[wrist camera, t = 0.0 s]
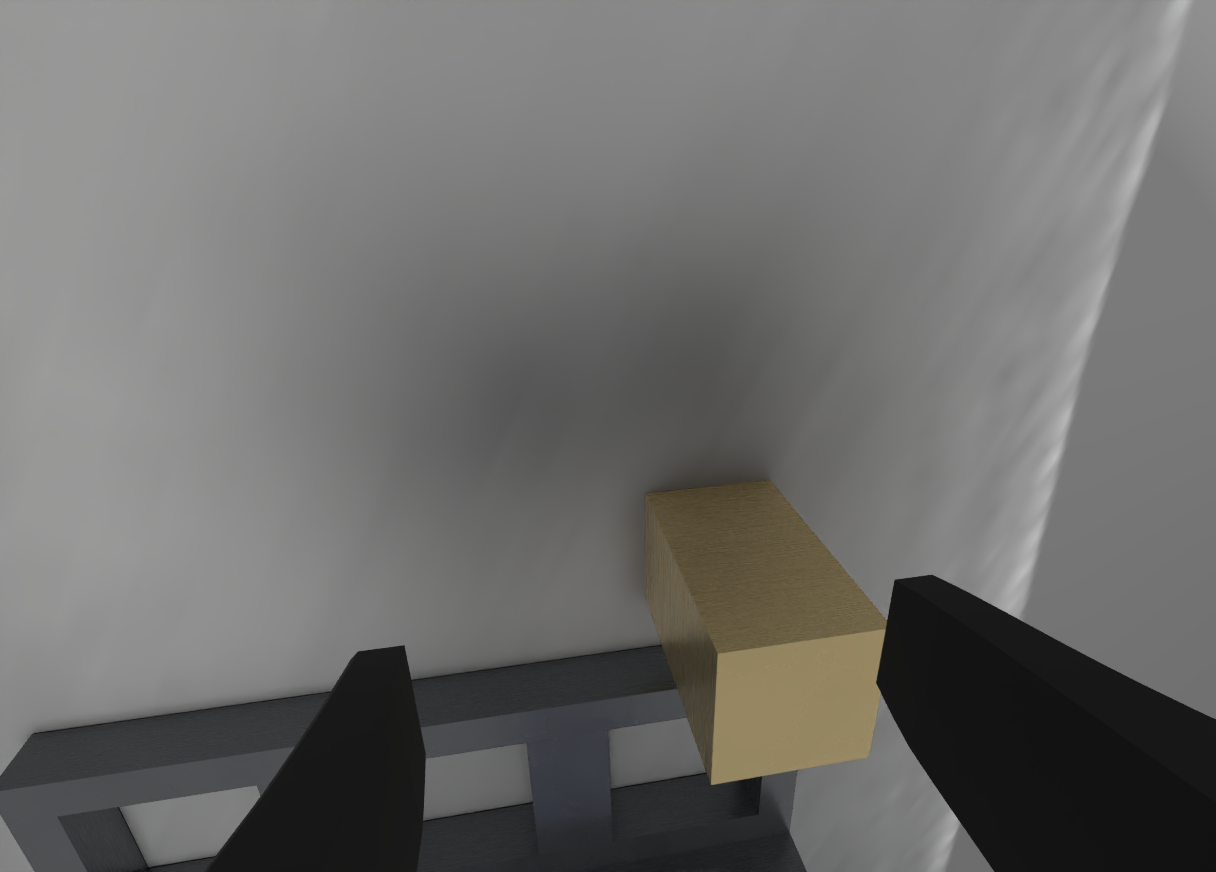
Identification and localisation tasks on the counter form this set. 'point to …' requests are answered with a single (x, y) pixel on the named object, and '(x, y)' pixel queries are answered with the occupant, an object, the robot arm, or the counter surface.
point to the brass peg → (760, 631)
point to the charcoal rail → (450, 724)
